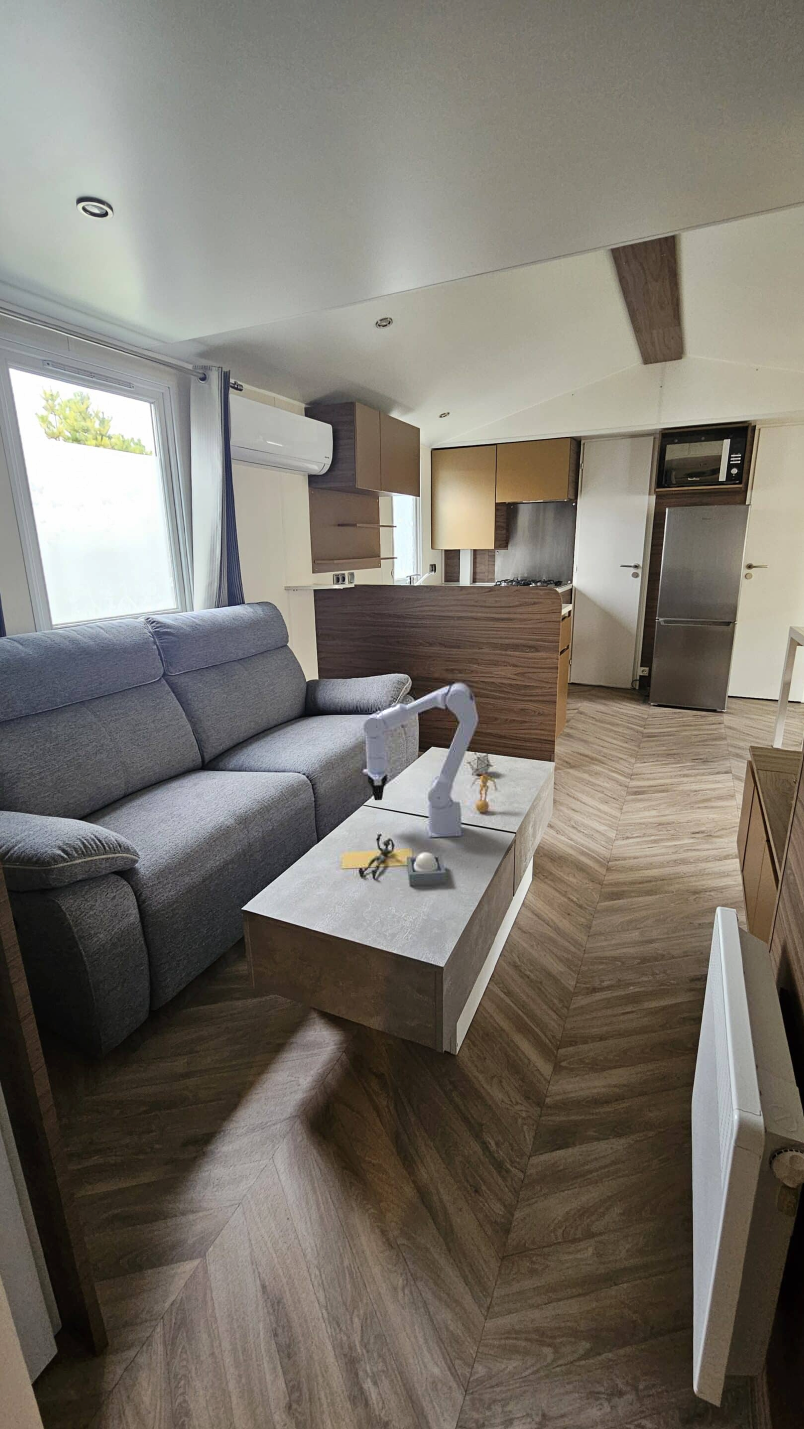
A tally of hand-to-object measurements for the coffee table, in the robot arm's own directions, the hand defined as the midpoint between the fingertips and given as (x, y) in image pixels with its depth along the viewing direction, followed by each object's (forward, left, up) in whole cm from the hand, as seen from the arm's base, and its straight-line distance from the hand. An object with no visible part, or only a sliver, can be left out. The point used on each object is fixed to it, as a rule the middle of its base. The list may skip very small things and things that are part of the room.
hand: (378, 799), depth 181 cm
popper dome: (-11, +29, -8) cm, 32 cm away
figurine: (-33, -9, -10) cm, 36 cm away
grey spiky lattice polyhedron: (-38, -41, -10) cm, 57 cm away
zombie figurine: (0, +22, -10) cm, 24 cm away
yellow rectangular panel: (+1, +19, -9) cm, 21 cm away
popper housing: (-11, +29, -9) cm, 32 cm away
